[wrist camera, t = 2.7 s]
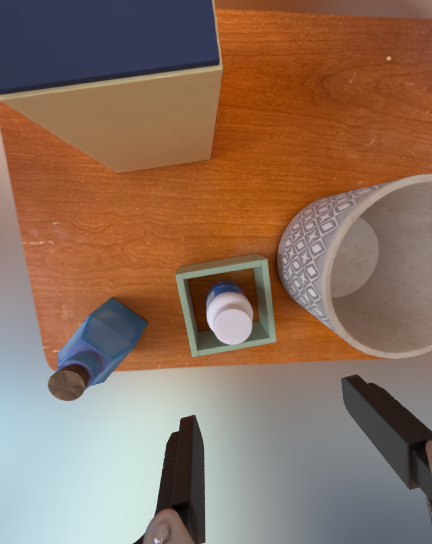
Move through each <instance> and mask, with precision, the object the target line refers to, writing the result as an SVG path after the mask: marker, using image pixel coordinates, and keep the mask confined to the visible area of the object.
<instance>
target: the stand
mask: <svg viewBox="0 0 432 544" xmlns="http://www.w3.org/2000/svg"><path fill="white" fill-rule="evenodd" d="M212 4H213V12H214V20H215V28H216V35H217V43H218V51H219V58H220V60H219V65H214V66H207V67H199V68H192V69H185V70H177V71H170V72H163V73H156V74H148V75H141V76H134V77H126V78H119V79H112V80H104V81H97V82H90V83H83V84H75V85H68V86H61V87H53V88H46V89H39V90H31V91H24V92H17V93H9V94H2V95H0V101H1V102H3V103H4V104H6V105H8V106H9V107H11V108H12V109H14V110H15V111H17V112H19V113H20V114H22V115H23V116H25V117H27V118H28V119H30V120H31V121H33V122H35V123H36V124H38V125H39V126H41V127H43V128H44V129H46V130H47V131H49V132H51V133H52V134H54V135H55V136H57V137H59V138H60V139H62V140H63V141H65V142H67V143H68V144H70V145H71V146H73V147H75V148H76V149H78V150H79V151H81V152H83V153H84V154H86V155H87V156H89V157H91V158H92V159H94V160H95V161H97V162H99V163H100V164H102V165H103V166H105V167H106V168H108V169H110V170H111V171H113V172H114V173H116V174H118V173H125V172H132V171H138V170H145V169H151V168H158V167H164V166H171V165H178V164H184V163H191V162H197V161H204V160H210V158H211V151H212V144H213V137H214V130H215V123H216V115H217V108H218V101H219V94H220V87H221V80H222V73H223V64H222V56H221V49H220V41H219V33H218V25H217V17H216V9H215V2H214V0H212Z"/></svg>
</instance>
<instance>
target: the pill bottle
mask: <svg viewBox="0 0 432 544" xmlns="http://www.w3.org/2000/svg"><path fill="white" fill-rule="evenodd" d="M206 310H207V321H208V324H209V326H210V328H211V329H212V331H213V332H214V333H215V335H216V336H217V338H218V339H219V340H220V341H221V342H223V343H225V344H229V345H235V344H239V343H242V342H243V341H245V340H246V339H247V338H248V337H249V335H250V334H251V331H252V321H253V310H252V307H251V305H250V303H249V301H248V299H247V298H246V296H245V295H244V293H243V291H242V290H241V288H240V287H239V286H238V285H237V284H236V283H234V282H232V281H229V280H222V281H218V282H216V283H215V284H213V285H212V286H211V287H210V289H209V290H208V292H207V296H206Z"/></svg>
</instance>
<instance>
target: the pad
mask: <svg viewBox="0 0 432 544" xmlns="http://www.w3.org/2000/svg"><path fill="white" fill-rule="evenodd" d="M219 60H220V58H219V51H218V43H217V35H216V28H215V20H214V12H213V4H212V0H0V95H2V94H9V93H17V92H24V91H31V90H39V89H46V88H53V87H61V86H68V85H75V84H83V83H90V82H97V81H104V80H112V79H119V78H126V77H134V76H141V75H148V74H156V73H163V72H170V71H177V70H185V69H192V68H199V67H207V66H214V65H219Z"/></svg>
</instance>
